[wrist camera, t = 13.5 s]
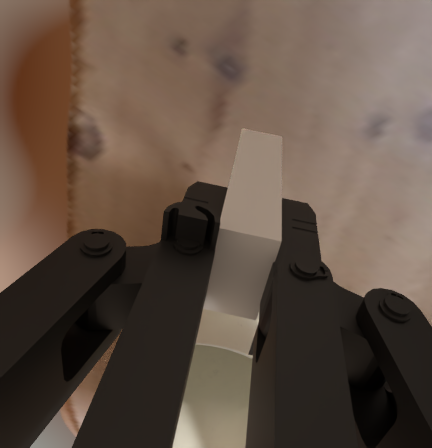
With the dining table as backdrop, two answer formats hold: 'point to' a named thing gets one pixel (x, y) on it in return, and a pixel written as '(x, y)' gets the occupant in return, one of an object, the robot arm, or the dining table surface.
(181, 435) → the pitcher
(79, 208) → the dining table surface
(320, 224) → the dining table surface
